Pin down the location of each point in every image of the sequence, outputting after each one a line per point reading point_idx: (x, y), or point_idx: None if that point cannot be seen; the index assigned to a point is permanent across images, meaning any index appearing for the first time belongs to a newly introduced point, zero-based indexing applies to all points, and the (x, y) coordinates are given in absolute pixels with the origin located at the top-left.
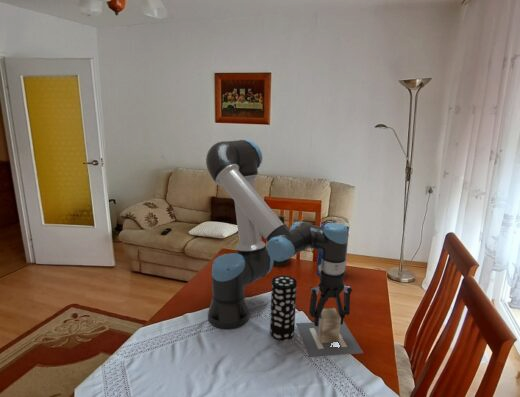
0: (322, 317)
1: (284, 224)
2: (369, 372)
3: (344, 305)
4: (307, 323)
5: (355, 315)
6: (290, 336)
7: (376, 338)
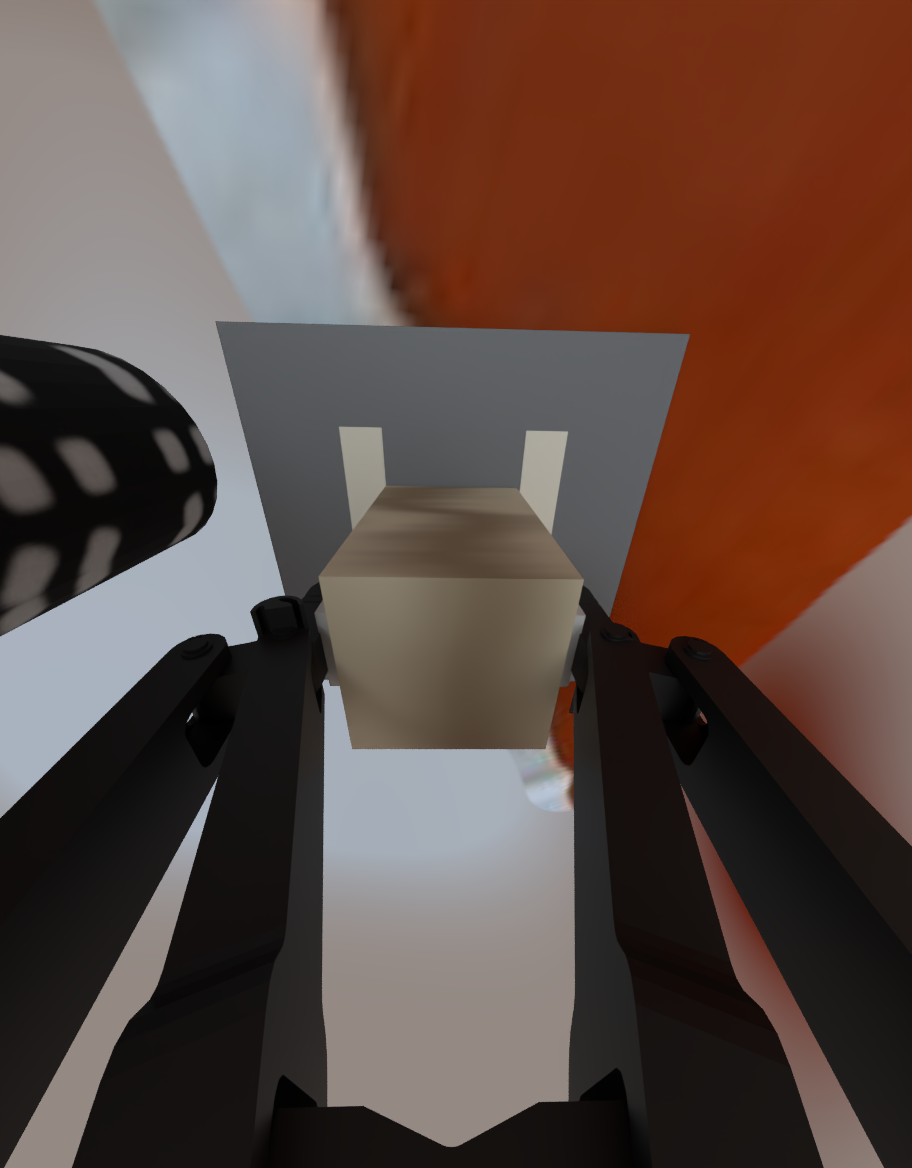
0: (349, 728)
1: None
2: (545, 755)
3: (712, 749)
4: (333, 340)
5: (885, 232)
6: (176, 543)
7: (755, 583)
